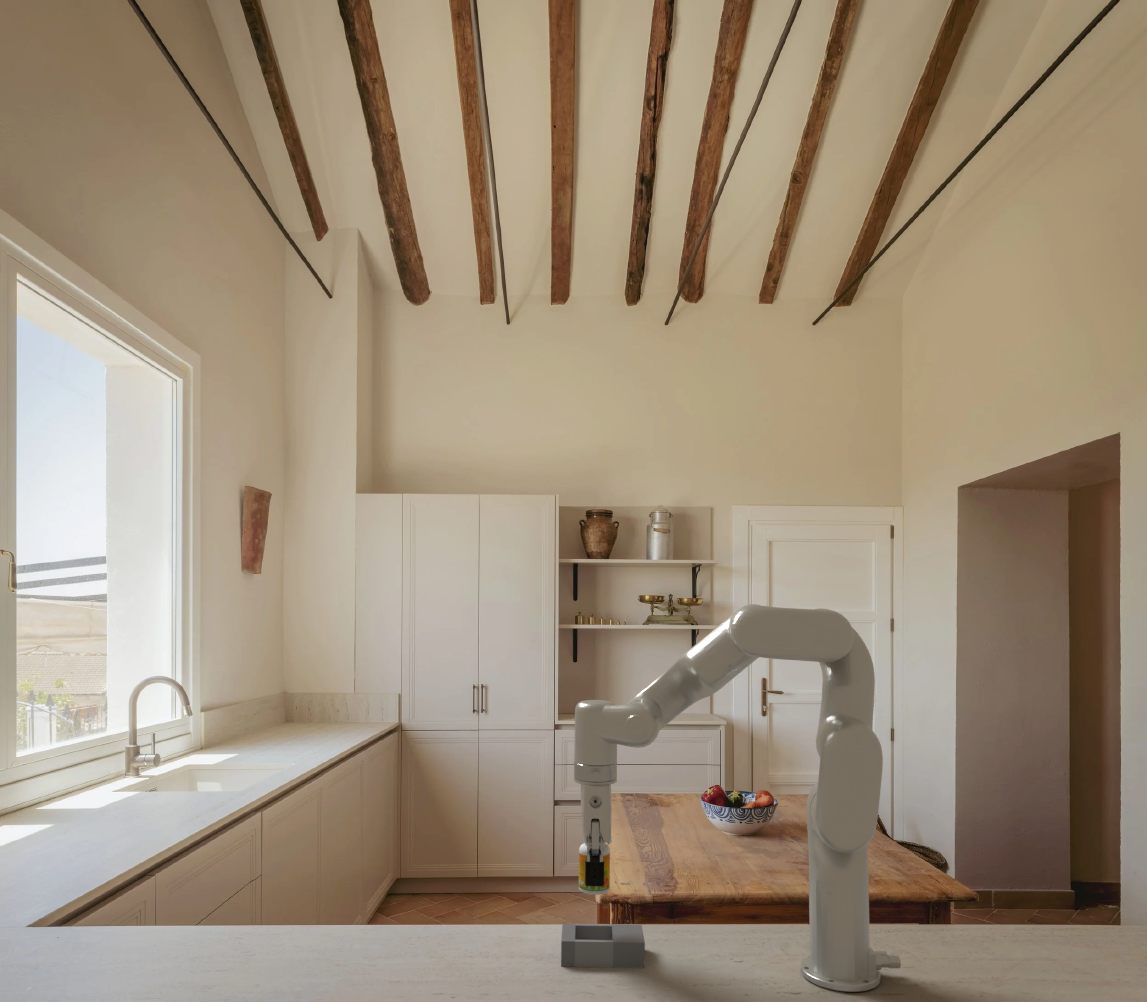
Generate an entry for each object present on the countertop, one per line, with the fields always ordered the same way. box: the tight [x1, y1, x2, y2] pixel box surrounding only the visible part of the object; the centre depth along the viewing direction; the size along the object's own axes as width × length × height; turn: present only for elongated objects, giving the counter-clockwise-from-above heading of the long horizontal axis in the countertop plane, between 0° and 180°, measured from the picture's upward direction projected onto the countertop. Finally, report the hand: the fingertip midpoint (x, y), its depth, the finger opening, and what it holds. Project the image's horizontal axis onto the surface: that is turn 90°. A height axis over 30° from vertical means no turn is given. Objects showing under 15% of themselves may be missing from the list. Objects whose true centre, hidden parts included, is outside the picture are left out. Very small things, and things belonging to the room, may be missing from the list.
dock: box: [560, 923, 646, 969], centre depth 153 cm, size 14×8×4 cm, turn 89°
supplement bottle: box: [578, 833, 611, 896], centre depth 154 cm, size 5×5×10 cm
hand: (594, 878), depth 154 cm, fingers closed on supplement bottle, 5 cm apart
